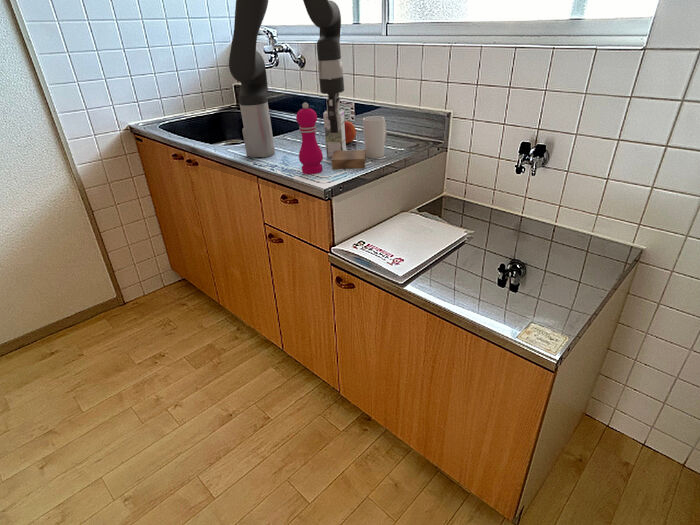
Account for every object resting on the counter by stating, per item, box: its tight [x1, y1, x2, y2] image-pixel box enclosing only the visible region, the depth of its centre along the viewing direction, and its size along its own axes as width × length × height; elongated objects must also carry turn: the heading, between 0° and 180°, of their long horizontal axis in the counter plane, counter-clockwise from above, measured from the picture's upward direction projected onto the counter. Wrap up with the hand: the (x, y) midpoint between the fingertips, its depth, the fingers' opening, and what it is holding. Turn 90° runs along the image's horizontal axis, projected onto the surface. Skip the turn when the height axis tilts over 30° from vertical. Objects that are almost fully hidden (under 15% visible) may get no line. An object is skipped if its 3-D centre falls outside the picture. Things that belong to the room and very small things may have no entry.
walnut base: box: [331, 149, 367, 171], centre depth 133 cm, size 10×10×3 cm
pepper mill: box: [296, 102, 324, 175], centre depth 125 cm, size 7×7×20 cm
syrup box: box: [322, 109, 347, 159], centre depth 140 cm, size 6×6×14 cm
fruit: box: [344, 120, 357, 144], centre depth 155 cm, size 8×8×8 cm
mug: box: [362, 115, 387, 160], centre depth 138 cm, size 10×7×12 cm, turn 141°
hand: (335, 129), depth 139 cm, fingers open, 8 cm apart
